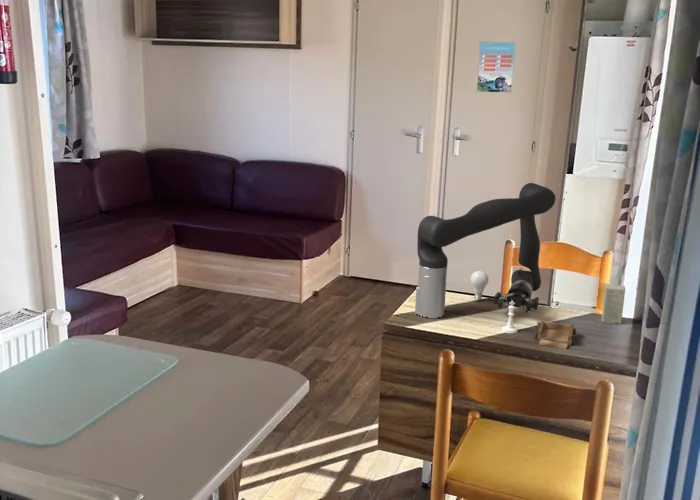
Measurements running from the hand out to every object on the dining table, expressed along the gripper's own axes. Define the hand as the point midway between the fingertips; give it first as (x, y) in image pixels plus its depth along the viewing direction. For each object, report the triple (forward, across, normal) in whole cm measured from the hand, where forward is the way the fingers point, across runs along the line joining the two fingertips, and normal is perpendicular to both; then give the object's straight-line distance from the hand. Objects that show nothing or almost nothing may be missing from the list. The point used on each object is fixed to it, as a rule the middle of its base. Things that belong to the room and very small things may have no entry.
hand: (513, 307), depth 220 cm
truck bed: (+7, +14, +6) cm, 17 cm away
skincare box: (-18, +30, +6) cm, 36 cm away
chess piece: (+5, 0, +6) cm, 8 cm away
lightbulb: (-20, -15, +6) cm, 26 cm away
